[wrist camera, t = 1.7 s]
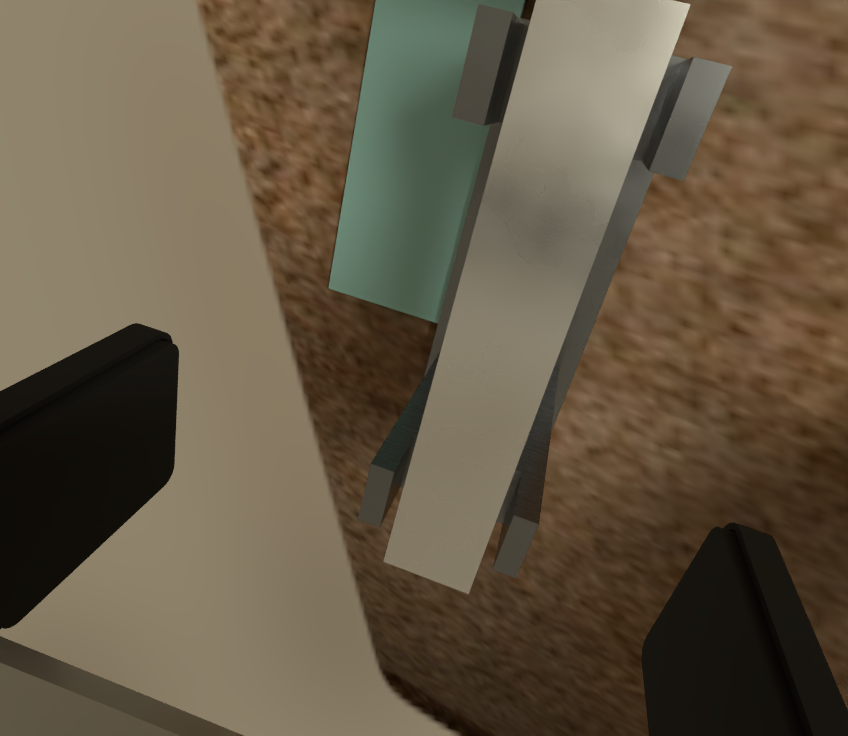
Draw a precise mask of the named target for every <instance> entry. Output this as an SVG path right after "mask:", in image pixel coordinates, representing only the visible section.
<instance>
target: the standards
mask: <svg viewBox="0 0 848 736" xmlns="http://www.w3.org/2000/svg"><path fill="white" fill-rule="evenodd" d="M530 21H531V20H527V19H523V18H518V17H517V16H516V15H515V14H514V13H513V12H510V11H506V10H502V9H498V8H494V7H490V6H486V5H482V4H478V8H477V12H476V16H475V21H474V25H473V29H472V34H471V38H470V42H469V46H468V51H467V55H466V59H465V63H464V68H463V72H462V76H461V81H460V85H459V89H458V93H457V98H456V102H455V106H454V111H453V115H452V117H453V118H456V119H460V120H463V121H467V122H471V123H474V124H478V125H482V126H486V125H490V128H489V132H488V135H487V139H486V143H485V147H484V151H483V154H482V158H481V162H480V166H479V170H478V173H477V177H476V181H475V185H474V189H473V192H472V196H471V200H470V204H469V208H468V211H467V215H466V219H465V223H464V227H463V230H462V234H461V238H460V242H459V246H458V249H457V253H456V257H455V261H454V265H453V268H452V272H451V276H450V280H449V284H448V287H447V291H446V295H445V299H444V303H443V306H442V310H441V314H440V318H439V322H438V325H437V329H436V333H435V337H434V341H433V344H432V348H431V352H430V356H429V360H428V363H427V367H426V371H425V375H424V378H423V380H422V381H421V383H420V385H419V386H418V388H417V390H416V391H415V393H414V394H413V396H412V398H411V399H410V401H409V403H408V404H407V406H406V407H405V409H404V411H403V412H402V414H401V416H400V417H399V419H398V421H397V422H396V424H395V425H394V427H393V429H392V430H391V432H390V434H389V435H388V437H387V438H386V440H385V442H384V443H383V445H382V447H381V448H380V450H379V451H378V453H377V455H376V456H375V458H374V460H373V461H372V463H371V466H370V470H369V474H368V478H367V483H366V487H365V491H364V496H363V500H362V504H361V508H360V513H359V517H358V519H359V520H361V521H364V522H367V523H369V524H372V525H375V526H377V527H380V526H381V524H382V522H383V520H384V518H385V516H386V514H387V512H388V510H389V508H390V506H391V504H392V502H393V500H394V498H395V496H396V494H397V492H398V490H399V488H400V487H403V488H404V484H405V481H406V477H407V473H408V469H409V466H410V462H411V458H412V455H413V451H414V447H415V444H416V440H417V436H418V433H419V429H420V425H421V422H422V418H423V414H424V411H425V407H426V403H427V400H428V396H429V392H430V389H431V385H432V381H433V378H434V374H435V370H436V366H437V363H438V359H439V355H440V352H441V348H442V344H443V341H444V337H445V333H446V330H447V326H448V322H449V319H450V315H451V311H452V308H453V304H454V300H455V297H456V293H457V289H458V286H459V282H460V278H461V275H462V271H463V267H464V264H465V260H466V256H467V252H468V249H469V245H470V241H471V238H472V234H473V230H474V227H475V223H476V219H477V216H478V212H479V208H480V205H481V201H482V197H483V194H484V190H485V186H486V183H487V179H488V175H489V172H490V168H491V164H492V161H493V157H494V153H495V149H496V146H497V142H498V138H499V135H500V131H501V127H502V124H503V120H504V116H505V113H506V109H507V105H508V102H509V98H510V94H511V91H512V87H513V83H514V80H515V76H516V72H517V69H518V65H519V61H520V58H521V54H522V50H523V46H524V43H525V39H526V35H527V32H528V28H529V24H530ZM731 67H732V66H729V65H725V64H721V63H717V62H713V61H709V60H705V59H701V58H696V57H693V58H690V59H684V58H680V57H676V56H672V55H671V58H670V61H669V63H668V66H667V69H666V71H665V74H664V77H663V79H662V82H661V84H660V87H659V90H658V92H657V95H656V98H655V100H654V103H653V106H652V108H651V111H650V114H649V116H648V119H647V122H646V124H645V127H644V130H643V132H642V135H641V138H640V140H639V143H638V146H637V148H636V151H635V153H634V156H633V159H632V161H631V164H630V167H629V169H628V172H627V175H626V177H625V180H624V183H623V185H622V188H621V191H620V193H619V196H618V199H617V201H616V204H615V207H614V209H613V212H612V215H611V217H610V220H609V223H608V225H607V228H606V230H605V233H604V236H603V238H602V241H601V244H600V246H599V249H598V252H597V254H596V257H595V260H594V262H593V265H592V268H591V270H590V273H589V276H588V278H587V281H586V284H585V286H584V289H583V292H582V294H581V297H580V300H579V302H578V305H577V307H576V310H575V313H574V315H573V318H572V321H571V323H570V326H569V329H568V331H567V334H566V337H565V339H564V342H563V345H562V347H561V350H560V353H559V355H558V358H557V361H556V363H555V366H554V369H553V371H552V374H551V376H550V379H549V382H548V384H547V387H546V390H545V392H544V395H543V398H542V400H541V403H540V406H539V408H538V411H537V414H536V416H535V419H534V422H533V424H532V427H531V430H530V432H529V435H528V438H527V440H526V443H525V446H524V448H523V451H522V453H521V456H520V459H519V461H518V464H517V467H516V469H515V472H514V475H513V477H512V480H511V483H510V485H509V488H508V491H507V493H506V496H505V499H504V501H503V504H502V507H501V509H500V512H499V515H498V517H497V520H496V522H499V523H502V529H501V533H500V538H499V543H498V547H497V552H496V556H495V561H494V565H493V570H495V571H498V572H500V573H503V574H506V575H508V576H511V577H514V578H516V577H517V574H518V572H519V570H520V567H521V565H522V563H523V560H524V558H525V556H526V553H527V551H528V548H529V546H530V544H531V541H532V539H533V537H534V534H535V532H536V529H537V527H538V525H539V518H540V511H541V503H542V496H543V488H544V481H545V473H546V466H547V458H548V451H549V443H550V436H551V431H552V429H553V426H554V424H555V421H556V419H557V416H558V414H559V411H560V409H561V406H562V404H563V401H564V399H565V396H566V394H567V391H568V389H569V386H570V383H571V381H572V378H573V376H574V373H575V371H576V368H577V366H578V363H579V361H580V358H581V356H582V353H583V351H584V348H585V346H586V343H587V341H588V338H589V336H590V333H591V331H592V328H593V326H594V323H595V321H596V318H597V315H598V313H599V310H600V308H601V305H602V303H603V300H604V298H605V295H606V293H607V290H608V288H609V285H610V283H611V280H612V278H613V275H614V273H615V270H616V268H617V265H618V263H619V260H620V258H621V255H622V253H623V250H624V247H625V245H626V242H627V240H628V237H629V235H630V232H631V230H632V227H633V225H634V222H635V220H636V217H637V215H638V212H639V210H640V207H641V205H642V202H643V200H644V197H645V195H646V192H647V190H648V187H649V185H650V182H651V179H652V177H653V174H654V173H657V174H660V175H664V176H668V177H671V178H675V179H679V180H682V181H684V179H685V176H686V174H687V172H688V169H689V167H690V165H691V162H692V160H693V157H694V155H695V153H696V150H697V148H698V146H699V143H700V141H701V139H702V136H703V134H704V131H705V129H706V127H707V124H708V122H709V120H710V117H711V115H712V112H713V110H714V108H715V105H716V103H717V101H718V98H719V96H720V94H721V91H722V89H723V86H724V84H725V82H726V79H727V77H728V75H729V72H730V70H731Z"/></svg>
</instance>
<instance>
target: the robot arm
mask: <svg viewBox="0 0 848 736" xmlns="http://www.w3.org/2000/svg"><path fill="white" fill-rule="evenodd" d="M178 363H179V351H178V347H177V346H176V345H175V344H173V343H172V339H171V336H170V335H169V334H168V333H165V332H162V331H159V330H156V329H153V328H151V327H148V326H145V325H142V324H137V323H135V324H132V325H129V326H127V327H125V328H124V329H122V330H120V331H118V332H116V333H114V334H112V335H110V336H108V337H106V338H104V339H102V340H100V341H98V342H96V343H94V344H92V345H90V346H88V347H87V348H84V349H82V350H80V351H79V352H76V353H75V354H72V355H71V356H69V357H67V358H65V359H63V360H61V361H59V362H57V363H55V364H53V365H51V366H49V367H47V368H45V369H43V370H41V371H40V372H37V373H35V374H33V375H31V376H30V377H28V378H26V379H23V380H22V381H20V382H18V383H16V384H14V385H12V386H10V387H8V388H6V389H4V390H2V391H0V629H1V628H10V627H12V626H14V625H15V624H17V623H18V622H19V621H20V620H22V619H23V617H25V616H26V615H27V614H28V613H29V612H30V611H31V610H32V609H33V608H34V607H35V606H37V604H39V603H40V602H41V601H42V600H43V599H44V598H45V597H46V596H47V595H48V594H49V593H50V592H51V591H52V590H53V589H55V588H56V587H57V586H58V585H59V584H60V583H61V582H62V581H63V580H64V579H65V578H66V577H68V576H69V575H70V574H71V573H72V572H73V571H74V570H75V569H76V568H77V567H78V566H79V565H80V564H81V563H82V562H83V561H85V560H86V559H87V558H88V557H89V556H90V555H91V554H92V553H93V552H94V551H95V550H96V549H97V548H99V547H100V546H101V544H103V543H104V542H105V541H106V540H107V539H108V538H109V537H110V536H111V535H112V534H113V533H115V532H116V531H117V530H118V529H119V528H120V527H121V526H122V525H123V524H124V523H125V522H126V521H127V520H128V519H130V518H131V516H133V515H134V514H135V513H136V512H137V511H138V510H139V509H140V508H141V507H142V506H143V505H144V504H146V503H147V502H148V501H149V500H150V499H151V498H152V497H153V496H154V495H155V494H156V493H157V492H158V491H159V490H161V488H163V487H164V486H165V485H166V483H167V482H168V481H169V479H170V477H171V475H172V473H173V469H174V461H175V460H174V457H175V435H176V410H177V387H178V385H177V384H178ZM642 669H643V678H644V688H645V698H646V708H647V718H648V727H649V736H848V710H847V708H846V706H845V703H844V701H843V699H842V696H841V694H840V692H839V689H838V687H837V685H836V682H835V680H834V678H833V675H832V673H831V671H830V668H829V666H828V663H827V661H826V659H825V656H824V654H823V652H822V649H821V647H820V645H819V642H818V640H817V638H816V635H815V633H814V631H813V628H812V626H811V624H810V621H809V619H808V617H807V614H806V612H805V610H804V607H803V605H802V603H801V600H800V598H799V596H798V593H797V591H796V589H795V586H794V584H793V582H792V579H791V577H790V575H789V572H788V570H787V568H786V565H785V563H784V561H783V558H782V556H781V553H780V551H779V549H778V546H777V544H776V542H775V540H774V538H773V537H772V536H771V535H769V534H766V533H763V532H760V531H757V530H754V529H751V528H749V527H746V526H743V525H740V524H737V523H729V524H728V525H726V526H725V527H724V529H723V528H720V527H715V528H713V529H712V530H711V532H710V533H709V534H708V536H707V538H706V539H705V541H704V543H703V544H702V546H701V548H700V549H699V551H698V553H697V554H696V556H695V558H694V559H693V561H692V562H691V564H690V566H689V567H688V569H687V571H686V572H685V574H684V576H683V577H682V579H681V581H680V582H679V584H678V586H677V587H676V589H675V591H674V592H673V594H672V595H671V597H670V599H669V600H668V602H667V604H666V605H665V607H664V609H663V610H662V612H661V614H660V615H659V617H658V619H657V620H656V622H655V624H654V625H653V627H652V629H651V630H650V632H649V633H648V635H647V637H646V639H645V642H644V645H643V650H642ZM0 736H243V735H241V734H238V733H236V732H233V731H231V730H229V729H226V728H224V727H221V726H219V725H217V724H214V723H212V722H209V721H207V720H204V719H202V718H199V717H197V716H194V715H192V714H190V713H187V712H185V711H182V710H180V709H178V708H175V707H173V706H170V705H168V704H166V703H163V702H161V701H158V700H156V699H153V698H151V697H148V696H145V695H143V694H141V693H139V692H136V691H134V690H131V689H129V688H126V687H124V686H121V685H119V684H116V683H114V682H112V681H109V680H107V679H104V678H102V677H99V676H97V675H94V674H92V673H89V672H87V671H84V670H82V669H80V668H77V667H75V666H72V665H70V664H67V663H65V662H62V661H60V660H57V659H55V658H52V657H50V656H47V655H45V654H43V653H40V652H38V651H35V650H33V649H30V648H28V647H25V646H23V645H20V644H18V643H15V642H13V641H10V640H8V639H6V638H3V637H1V636H0Z"/></svg>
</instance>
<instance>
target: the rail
mask: <svg viewBox="0 0 848 736" xmlns="http://www.w3.org/2000/svg"><path fill="white" fill-rule="evenodd" d="M690 5H691V4H687V3H682V2H678V1H674V0H536V2H535V6H534V10H533V13H532V17H531V21H530V24H529V28H528V32H527V35H526V39H525V43H524V46H523V50H522V54H521V58H520V61H519V65H518V69H517V72H516V76H515V80H514V83H513V87H512V91H511V94H510V98H509V102H508V105H507V109H506V113H505V116H504V120H503V124H502V127H501V131H500V135H499V138H498V142H497V146H496V149H495V153H494V157H493V161H492V164H491V168H490V172H489V175H488V179H487V183H486V186H485V190H484V194H483V197H482V201H481V205H480V208H479V212H478V216H477V219H476V223H475V227H474V230H473V234H472V238H471V241H470V245H469V249H468V252H467V256H466V260H465V264H464V267H463V271H462V275H461V278H460V282H459V286H458V289H457V293H456V297H455V300H454V304H453V308H452V311H451V315H450V319H449V322H448V326H447V330H446V333H445V337H444V341H443V344H442V348H441V352H440V355H439V359H438V363H437V366H436V370H435V374H434V378H433V381H432V385H431V389H430V392H429V396H428V400H427V403H426V407H425V411H424V414H423V418H422V422H421V425H420V429H419V433H418V436H417V440H416V444H415V447H414V451H413V455H412V458H411V462H410V466H409V469H408V473H407V477H406V481H405V484H404V488H403V492H402V495H401V499H400V503H399V506H398V510H397V514H396V517H395V521H394V525H393V528H392V532H391V536H390V539H389V543H388V547H387V550H386V554H385V558H384V561H383V562H386V563H388V564H391V565H393V566H396V567H399V568H401V569H404V570H407V571H409V572H412V573H414V574H417V575H420V576H422V577H425V578H428V579H430V580H433V581H435V582H438V583H441V584H443V585H446V586H448V587H451V588H454V589H456V590H459V591H462V592H464V593H467V594H469V592H470V589H471V586H472V584H473V581H474V578H475V576H476V573H477V570H478V568H479V565H480V562H481V560H482V557H483V554H484V552H485V549H486V546H487V544H488V541H489V538H490V536H491V533H492V530H493V528H494V525H495V523H496V520H497V517H498V515H499V512H500V509H501V507H502V504H503V501H504V499H505V496H506V493H507V491H508V488H509V485H510V483H511V480H512V477H513V475H514V472H515V469H516V467H517V464H518V461H519V459H520V456H521V453H522V451H523V448H524V446H525V443H526V440H527V438H528V435H529V432H530V430H531V427H532V424H533V422H534V419H535V416H536V414H537V411H538V408H539V406H540V403H541V400H542V398H543V395H544V392H545V390H546V387H547V384H548V382H549V379H550V376H551V374H552V371H553V369H554V366H555V363H556V361H557V358H558V355H559V353H560V350H561V347H562V345H563V342H564V339H565V337H566V334H567V331H568V329H569V326H570V323H571V321H572V318H573V315H574V313H575V310H576V307H577V305H578V302H579V300H580V297H581V294H582V292H583V289H584V286H585V284H586V281H587V278H588V276H589V273H590V270H591V268H592V265H593V262H594V260H595V257H596V254H597V252H598V249H599V246H600V244H601V241H602V238H603V236H604V233H605V230H606V228H607V225H608V223H609V220H610V217H611V215H612V212H613V209H614V207H615V204H616V201H617V199H618V196H619V193H620V191H621V188H622V185H623V183H624V180H625V177H626V175H627V172H628V169H629V167H630V164H631V161H632V159H633V156H634V153H635V151H636V148H637V146H638V143H639V140H640V138H641V135H642V132H643V130H644V127H645V124H646V122H647V119H648V116H649V114H650V111H651V108H652V106H653V103H654V100H655V98H656V95H657V92H658V90H659V87H660V84H661V82H662V79H663V77H664V74H665V71H666V69H667V66H668V63H669V61H670V58H671V55H672V53H673V50H674V47H675V45H676V42H677V39H678V37H679V34H680V31H681V29H682V26H683V23H684V21H685V18H686V15H687V13H688V10H689V7H690Z"/></svg>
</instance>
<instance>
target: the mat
mask: <svg viewBox="0 0 848 736" xmlns="http://www.w3.org/2000/svg"><path fill="white" fill-rule="evenodd" d="M525 2H526V0H376V2H375V8H374V14H373V20H372V26H371V32H370V38H369V44H368V51H367V57H366V63H365V69H364V75H363V81H362V87H361V93H360V99H359V105H358V111H357V118H356V124H355V130H354V136H353V142H352V148H351V154H350V160H349V166H348V172H347V178H346V184H345V191H344V197H343V203H342V209H341V215H340V221H339V227H338V233H337V239H336V245H335V251H334V258H333V264H332V270H331V276H330V282H329V289H332V290H335V291H338V292H341V293H344V294H347V295H350V296H354V297H357V298H360V299H363V300H366V301H369V302H372V303H375V304H378V305H382V306H385V307H388V308H391V309H394V310H397V311H400V312H403V313H406V314H409V315H413V316H416V317H419V318H422V319H425V320H428V321H431V322H434V323H437V324H438V322H439V318H440V314H441V310H442V306H443V303H444V299H445V295H446V291H447V287H448V284H449V280H450V276H451V272H452V268H453V265H454V261H455V257H456V253H457V249H458V246H459V242H460V238H461V234H462V230H463V227H464V223H465V219H466V215H467V211H468V208H469V204H470V200H471V196H472V192H473V189H474V185H475V181H476V177H477V173H478V170H479V166H480V162H481V158H482V154H483V151H484V147H485V143H486V139H487V135H488V132H489V128H490V125H486V126H482V125H478V124H474V123H471V122H467V121H463V120H460V119H456V118H453V117H452V115H453V111H454V106H455V102H456V98H457V93H458V89H459V85H460V81H461V76H462V72H463V68H464V63H465V59H466V55H467V51H468V46H469V42H470V38H471V34H472V29H473V25H474V21H475V16H476V12H477V8H478V4H482V5H486V6H490V7H494V8H498V9H502V10H506V11H510V12H513V13H514V14H515V15H516V16H517V17H518V18H521V17H522V13H523V10H524V6H525Z"/></svg>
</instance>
